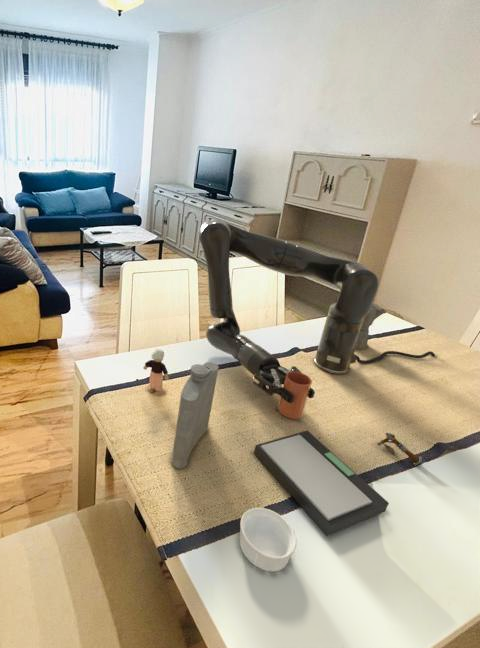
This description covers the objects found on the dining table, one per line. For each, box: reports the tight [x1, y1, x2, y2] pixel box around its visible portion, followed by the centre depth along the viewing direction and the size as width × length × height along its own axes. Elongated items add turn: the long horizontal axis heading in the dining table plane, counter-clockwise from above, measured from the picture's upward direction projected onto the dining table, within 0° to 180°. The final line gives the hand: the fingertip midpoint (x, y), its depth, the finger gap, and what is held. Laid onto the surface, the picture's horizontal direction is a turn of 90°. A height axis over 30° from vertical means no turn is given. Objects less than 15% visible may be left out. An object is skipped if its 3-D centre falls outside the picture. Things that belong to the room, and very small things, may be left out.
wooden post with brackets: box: [376, 431, 423, 467], centre depth 87 cm, size 2×8×4 cm, turn 48°
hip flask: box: [170, 361, 220, 470], centre depth 83 cm, size 16×4×20 cm, turn 148°
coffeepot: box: [334, 297, 387, 350], centre depth 133 cm, size 15×9×18 cm, turn 44°
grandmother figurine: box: [143, 348, 170, 396], centre depth 102 cm, size 8×4×13 cm, turn 65°
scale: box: [253, 430, 390, 537], centre depth 79 cm, size 15×20×3 cm
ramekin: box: [239, 507, 297, 573], centre depth 65 cm, size 9×9×4 cm
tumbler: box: [277, 371, 313, 420], centre depth 96 cm, size 6×6×10 cm
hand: (302, 397), depth 94 cm, fingers closed on tumbler, 6 cm apart
